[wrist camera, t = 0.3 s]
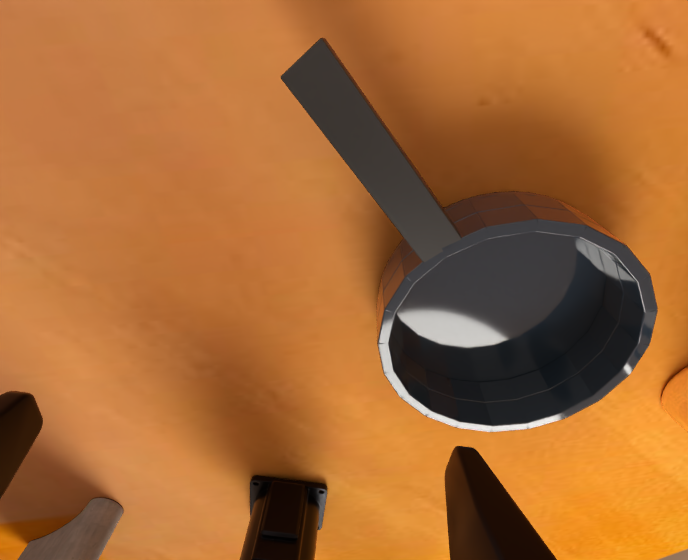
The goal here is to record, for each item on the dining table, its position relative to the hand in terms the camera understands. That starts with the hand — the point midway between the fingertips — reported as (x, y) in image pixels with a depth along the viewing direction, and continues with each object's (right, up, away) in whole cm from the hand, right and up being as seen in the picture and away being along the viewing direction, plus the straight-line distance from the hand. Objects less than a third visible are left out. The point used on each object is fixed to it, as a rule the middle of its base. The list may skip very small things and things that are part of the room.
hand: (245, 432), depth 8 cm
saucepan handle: (+4, +8, +8) cm, 12 cm away
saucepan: (+11, +2, +15) cm, 18 cm away
